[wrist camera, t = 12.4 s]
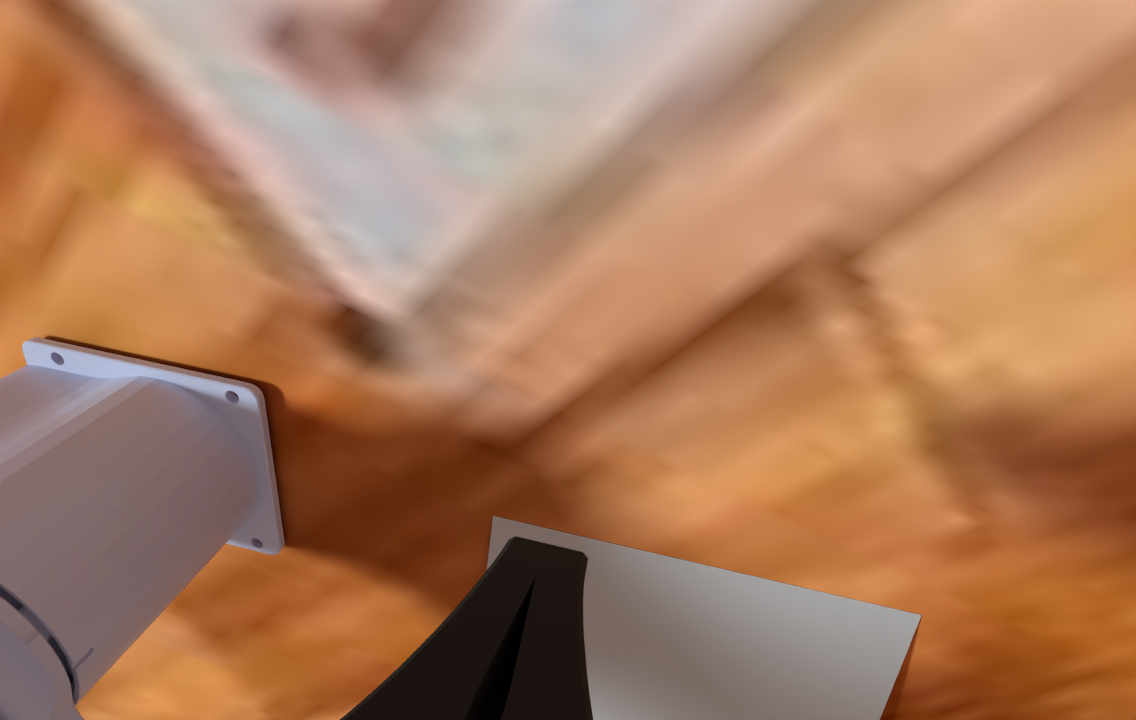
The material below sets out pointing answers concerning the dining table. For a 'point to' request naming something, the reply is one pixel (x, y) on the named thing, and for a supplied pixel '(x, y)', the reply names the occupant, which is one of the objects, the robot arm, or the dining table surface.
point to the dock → (722, 639)
